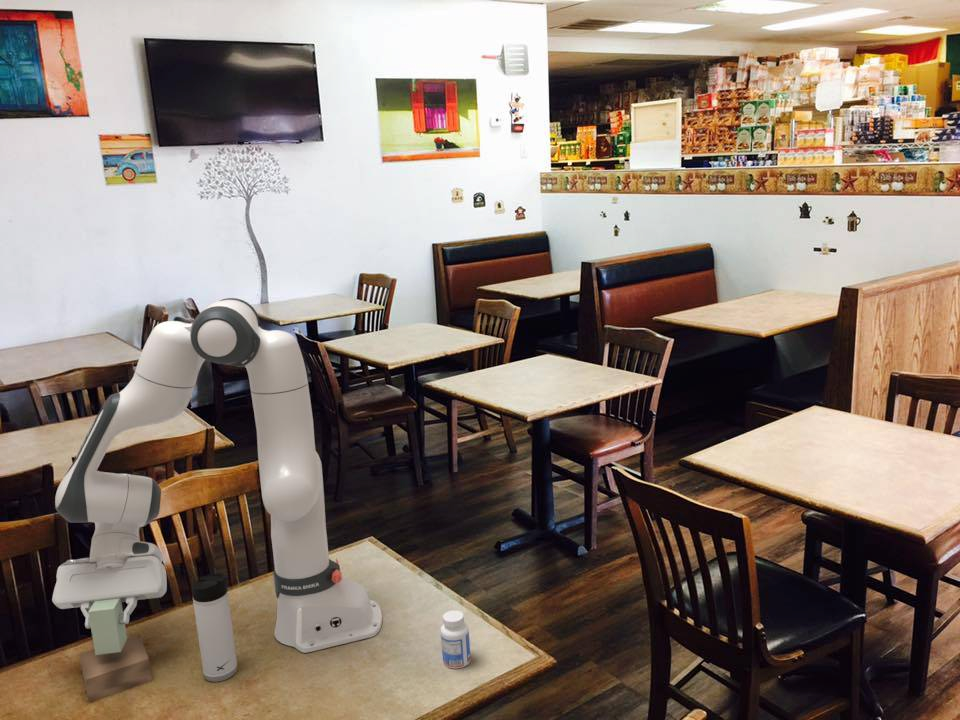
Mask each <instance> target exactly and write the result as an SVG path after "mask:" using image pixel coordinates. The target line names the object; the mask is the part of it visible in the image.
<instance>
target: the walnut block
mask: <svg viewBox="0 0 960 720" xmlns="http://www.w3.org/2000/svg"><path fill="white" fill-rule="evenodd" d="M79 660H80V667H81V672H82V677H83V682H84V686H85V691H86V695H87V698H88V703H92V702H94V701H98V700H101V699H103V698H106V696H107V697H109V696H113V695H116V694H118V693H120V692H123V691H126V690H129V689H132V688H134V687H138V686H140V685H143V684H146V683H149V682H153V676H152V670H151V669H152V668H151V664H150V658H149V655H148V653H147V650H146V648H145V645H144V642H143V640H142V637H141V635H140V634H139V635H136V636H132V637H129V638H127V641H126V642H125V644H124V646H123V648H122V650H121V652H116V653H108V654H101V655H95V649H94V648H93V649H92V650H88V651H85V652H81V653H79Z"/></svg>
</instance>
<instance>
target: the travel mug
mask: <svg viewBox="0 0 960 720" xmlns="http://www.w3.org/2000/svg"><path fill="white" fill-rule="evenodd" d="M227 581H228V578H227V576H226V575H225V574H224V573H221V572H215V573H209V574H206V575H204V576H201V577H199V578H198V579H197V580H195V581H194V582H193V584H192V585H191V586H190V587H191V593H192V600H193V601H192V603H193V609H194V617H195V624H196V630H197V638H198V644H199V645H198V646H199V652H200V659H201V665H202V672H203V677H204V679H205V680H206V681H208V682H212V683H213V682H222V681H226V680H228V679H230V678H232V677H233V676H234V675H235V674H236V673H237V671H238V661H237V654H236V653H237V652H236V645H235V637H234V630H233V624H232V623H233V621H232V614H231V608H230V600H229V594H228V593H229V592H228V587H227Z"/></svg>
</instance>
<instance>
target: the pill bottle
mask: <svg viewBox="0 0 960 720" xmlns="http://www.w3.org/2000/svg"><path fill="white" fill-rule="evenodd" d="M440 639H441V640H440V641H441V652H442V654H441V655H442V662H443V664H444V666H446V667H447V668H449V669H454V670H455V669H461V668H465V667H467V666H468V665H469V663H470V662H471V645H470V644H471V643H470V631H469V625H468V624H467V622H465V615H464V613H463V612H462V611H460V610H457V609H456V610H449V611H446V612H445V613H444V614H443V615H442V625H441V627H440Z"/></svg>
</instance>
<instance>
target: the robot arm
mask: <svg viewBox="0 0 960 720" xmlns="http://www.w3.org/2000/svg"><path fill="white" fill-rule="evenodd" d="M205 361H208V362H211V363H212V364H213V363H214V364H219V365H229V366H234V367H237V368H246V371H247V375H248V380H249V381H248V382H249V387H250V394H251V400H252V408H253V412H254V413H253V414H254V422H255V428H256V440H257V441H256V444H257V459H258V470H259V482H260V489H261V498H262V503H263V506H264V509H265V510H266V512H267V513H268V514H269V515H270V538H271V544H272V545H271V547H272V553H273V554H272V556H273V564H274V569H273V573H272V575H273V576H272V580H273V587H274V588H273V590H274V593H275V597H276V599H277V602H276V603H277V605H276V606H277V607H276V621H275V627H274V632H273V633H274V637H275V639H276V640H277V641H278V642H279V643H281V644H283V645H286V646H288V647H293V648H295V649H297V650H298V651H299V652H301V653H303V654H304V653H305V654H306V653H312V652H315V651H320V650H323V649H328V648H332V647H336V646H340V645H344V644H348V643H353V642H357V641H361V640H364V639H369V638H373V637H375V636H376V635H377V634H378V633H379V632H380V630H381V628H382V626H383V625H382V624H383V613H382V610H381V606H380V605H379V603H378V602H376V601H375V600H373V599H370V598H369V594H368V592H367V590H366V588H365V587H364V586H363V585H362V584H361V583H359V582H357V581H355V580H352V579H350V578H348V577H346V576H345V575H343V573H342V572H341V567H340V564H339V560H338V558H336V559H335V561H334V560H332V559H330V557H329V556H330V554H329V548H328V547H329V545H328V535H327V524H326V511H325V510H326V508H325V505H326V504H325V491H324V477H323V467H322V466H323V464H322V461H321V458H320V455H319V453H318V452H317V451H316V443H315V429H314V428H315V427H314V418H313V410H312V403H311V402H312V401H311V395H310V387H309V381H308V374H307V369H306V364H305V361H304V357H303V354H302V351H301V348H300V345H299V343H298V340H297V338H296V337H295V336H294V335H293V334H291V333H290V332H287V331H285V330H278V329H276V330H275V329H272V330H267V329H263V328H262V327H261V324H260V317H259V315H258V312H257V310H256V309H255V308H254V307H253V306H252V304H250V303H249V302H247V301H245V300H243V299H241V298H236V297H235V298H234V297H228V298H223V299H220V300H218V301H215V302H212V303H211V304H209V305H207V306H206V307H205V308H204V309H202V310H201V312H199V313H198V314H197V315H196V317H195V318H194V320H193V321H192V322H191V323H188V322H183V321H179V320H168V321H167V320H166V321H162V322H160V323H158V324H156V325H155V327H154V328H153V329H152V330H151V332H150V334H149V336H148V337H147V339H146V341H145V344H144V346H143V348H142V351H141V354H140V356H139V358H138V361H137V364H136V367H135V371H134V374H133V377H132V378H131V380H130V381H129V382H128V383H127V385H126V386H125V387H124V388H123V389H122V390H120V391H118V392H116V393H113V394H110V395H109V396H108V397H107V399H106V400H105V402H103V405H102V406H101V408H100V410H99V411H98V413H97V415H96V416H95V419H94V421H93V422H92V425H91V426H90V428H89V430H88V432H87V433H86V436H85V438H84V440H83V442H82V444H81V445H80V446H81V447H80V448H79V450H78V452H77V454H76V456H75V458H74V460H73V461H72V463H71V464H70V465H71V466H69V469H68V470H67V472H66V473H65V475H64V476H63V478H62V480H61V481H60V483H59V484H58V487H57V490H56V493H55V497H54V499H55V501H54V503H55V504H54V508H55V510H56V511H57V513H58V514H59V515H60V516H61V517H62V518H63V519H64V520H65V521H67V522H68V523H94V526H95V529H94V533H93V535H92V537H91V542H90V543H91V544H90V551H89V557H84V558H83V557H81V558H77V559H67V560H66V561H65V562H63V563H62V564H60V565H59V566H58V567H57V570H56V577H55V578H56V583H55V585H54V589H53V592H52V598H51V601H52V603H53V604H54V605H55V606H56V608H58V609H61V610H65V609H72V608H80V610H81V612H82V615H83V616H84V617H85V622H84V626H85V629H87V630H88V629H91V626H90V620H89V614H88V611H89V610H90V608H91V607H92V605H93V603H94V602H95V601H98V600H106V599H114V598H121V602H122V603H124V602H125V603H126V604H127V606H126V607H125V609H124V610H123V613H119V619H118V623H119V624H120V625H121V624H125V625H127V624H129V622H130V615H132V613H133V611H134V610H135V608H136V607H137V605H138V601H139V600H140V601H141V600H147V599H157V598H162V597H163V596H164V595H165V594H166V592H167V588H168V587H167V586H168V585H167V584H168V583H167V582H168V581H167V571H166V567H165V565H164V564H163V563H162V562H163V561H164V554H163V552H162V550H161V549H160V548H159V547H158V546H157V545H156V544H155V543H152V542H147V541H142V540H141V537H140V528H141V527H142V528H143V527H145V526H148V524H150V523H152V521H154V520H155V519H157V518H158V516H159V514H160V509H161V499H162V497H161V496H162V489H161V486H159V484H158V483H157V482H156V480H155V479H154V478H152V477H149V476H144V475H135V474H130V473H129V474H128V473H115V472H105V471H101V470H100V471H99V470H98V468H99V467H100V465H101V463H102V461H103V459H104V457H105V455H106V453H107V451H108V449H109V447H110V445H111V444H112V441H113V440H114V439H115V438H116V437H117V436H118V435H119V434H121V433H124V432H126V431H128V430H132V429H135V428H139V427H140V428H141V427H144V426H151V425H158V424H162V423H165V422H169V421H170V420H173V419H175V418H176V417H177V416H180V415H181V414H182V413H183V412H184V411H185V410H186V409H187V407H188V405H189V404H190V401H191V399H192V396H193V393H194V391H195V386H196V383H197V380H198V377H199V373H200V370H201V368H202V365H203V363H205Z"/></svg>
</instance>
